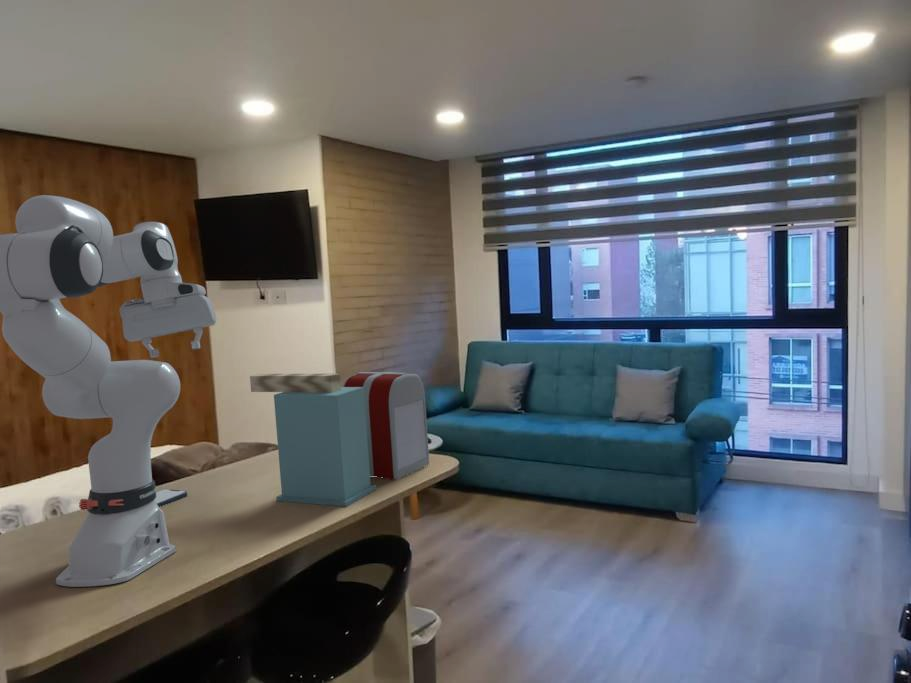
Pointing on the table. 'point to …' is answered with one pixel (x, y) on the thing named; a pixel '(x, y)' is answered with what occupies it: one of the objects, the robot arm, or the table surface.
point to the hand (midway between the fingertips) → (175, 353)
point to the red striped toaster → (394, 422)
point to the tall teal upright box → (323, 446)
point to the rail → (295, 383)
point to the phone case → (169, 496)
